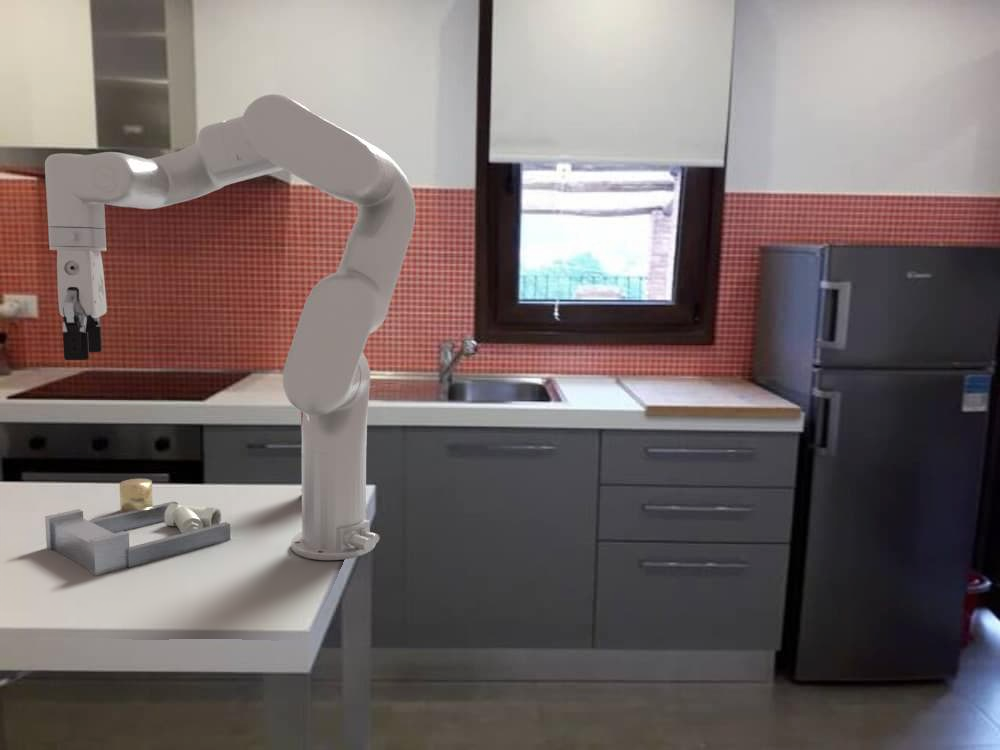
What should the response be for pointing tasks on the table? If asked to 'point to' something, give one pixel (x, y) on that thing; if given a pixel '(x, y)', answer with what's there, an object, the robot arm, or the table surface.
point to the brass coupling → (135, 494)
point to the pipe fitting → (191, 517)
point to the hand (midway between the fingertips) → (83, 355)
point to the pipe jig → (121, 538)
